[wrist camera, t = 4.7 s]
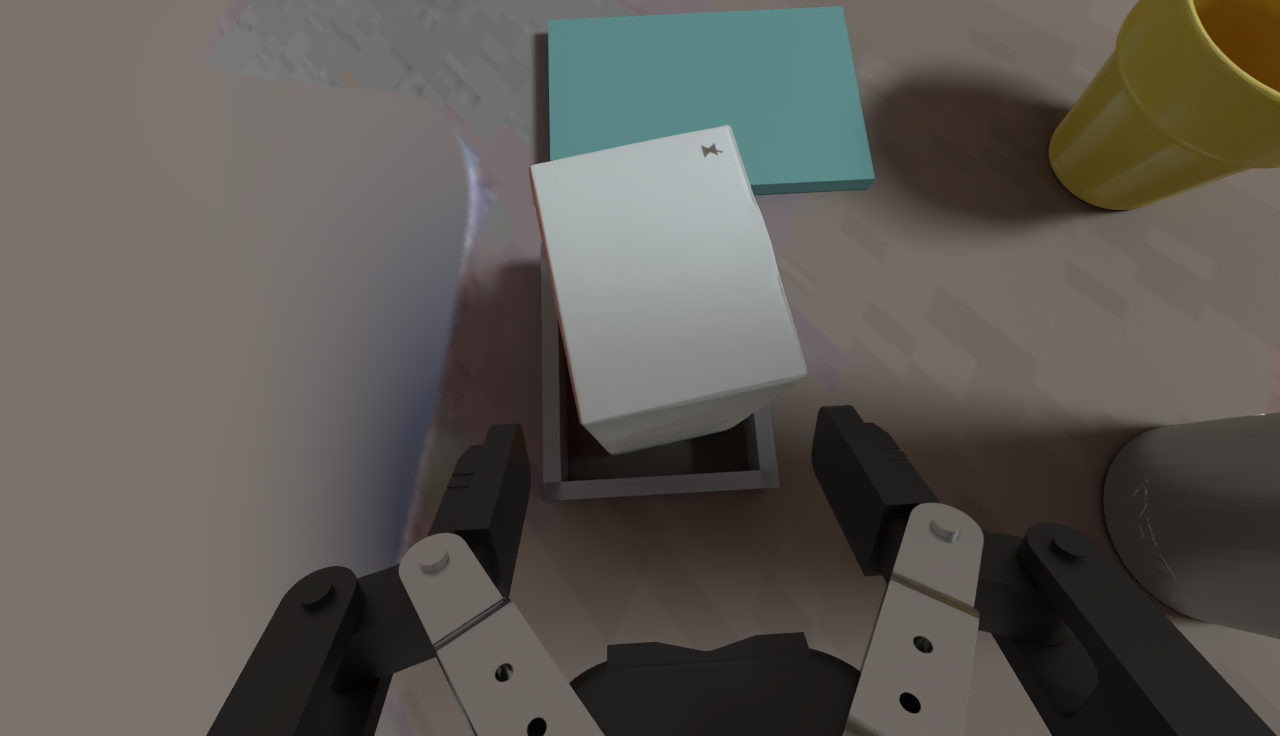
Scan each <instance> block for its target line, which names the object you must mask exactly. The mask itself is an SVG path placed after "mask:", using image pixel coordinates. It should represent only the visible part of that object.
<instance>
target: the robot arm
mask: <svg viewBox="0 0 1280 736" xmlns="http://www.w3.org/2000/svg"><path fill="white" fill-rule="evenodd" d="M811 458H812V466H813V470H814V473H815V475H816V477H817V479H818V481H819V483H820V485H821V487H822V490H823V492H824V494H825V496H826V498H827V500H828V502H829V504H830V506H831V508H832V510H833V512H834V514H835V516H836V518H837V520H838V522H839V524H840V526H841V528H842V530H843V533H844V535H845V537H846V539H847V541H848V543H849V545H850V547H851V549H852V551H853V553H854V555H855V557H856V559H857V561H858V563H859V565H860V567H861V569H862V571H863V573H864V576H878V575H883V577H884V579H885V581H886V583H887V586H886V589H885V592H884V595H883V598H882V601H881V605H880V608H879V611H878V614H877V617H876V621H875V624H874V627H873V630H872V633H871V637H870V640H869V643H868V646H867V649H866V652H865V656H864V659H863V662H862V665H861V668H860V671H859V670H857V669H856V668H854V667H853V666H851V665H849V664H848V663H846V662H844V661H842V660H841V659H838V658H836V657H834V656H832V655H829V654H827V653H824V652H821V651H817V650H813V649H809V647H808V644H807V641H806V638H805V635H804V632H799V633H784V634H769V635H755V636H752V637H749V638H747V639H744V640H741V641H738V642H735V643H732V644H729V645H727V646H724V647H721V648H718V649H715V650H712V651H700V650H695V649H690V648H685V647H679V646H674V645H669V644H664V643H659V642H648V643H633V644H617V645H607V661H606V662H603V663H601V664H598V665H596V666H594V667H592V668H590V669H588V670H586V671H585V672H583V673H582V674H580V675H579V676H577V677H576V678H574V679H573V680H572V681H571V682H570V683H568V681H567V680H566V679H565V677H564V676H563V674H562V673H561V671H560V670H559V668H558V667H557V665H556V664H555V662H554V661H553V660H552V658H551V657H550V655H549V654H548V652H547V651H546V649H545V648H544V646H543V645H542V643H541V642H540V640H539V639H538V638H537V636H536V635H535V633H534V632H533V630H532V629H531V627H530V626H529V624H528V623H527V621H526V620H525V619H524V617H523V616H522V614H521V613H520V611H519V610H518V608H517V607H516V605H515V604H514V603H513V602H512V600H511V599H509V594H510V589H511V584H512V579H513V574H514V569H515V564H516V559H517V553H518V548H519V543H520V538H521V533H522V528H523V523H524V518H525V513H526V508H527V503H528V498H529V493H530V486H531V473H530V465H529V460H528V456H527V451H526V446H525V441H524V436H523V431H522V427H521V425H520V424H507V425H492V426H491V427H490V428H489V431H488V434H487V437H486V440H485V443H484V445H475V446H471V447H470V448H469V449H468V450H467V451H466V452H465V453H464V454H463V455H462V456H461V457H460V458H459V459H458V461H457V464H456V466H455V469H454V471H453V474H452V478H451V479H450V481H449V484H448V486H447V490H446V492H445V494H444V497H443V499H442V502H441V504H440V507H439V509H438V512H437V514H436V517H435V519H434V522H433V524H432V527H431V529H430V532H429V535H428V537H426V538H424V539H422V540H421V541H419V542H417V543H416V544H415V545H413V546H412V547H411V548H410V549H409V550H408V551H407V552H406V554H405V555H404V556H403V558H402V560H401V562H400V564H398V565H396V566H393V567H390V568H388V569H385V570H382V571H379V572H376V573H373V574H370V575H366V576H364V577H360V578H356V576H355V574H354V573H353V572H352V571H351V570H350V569H348V568H345V567H341V566H333V567H327V568H323V569H320V570H317V571H315V572H313V573H311V574H309V575H307V576H306V577H304V578H303V579H301V580H300V581H298V582H297V583H296V584H295V585H294V586H293V587H292V588H291V589H290V590H289V591H288V592H287V593H286V594H285V596H284V597H283V599H282V600H281V602H280V604H279V606H278V608H277V609H276V611H275V613H274V615H273V617H272V619H271V620H270V622H269V624H268V626H267V627H266V629H265V631H264V633H263V635H262V637H261V638H260V640H259V642H258V644H257V645H256V647H255V649H254V651H253V653H252V655H251V656H250V658H249V660H248V662H247V663H246V665H245V667H244V669H243V671H242V672H241V674H240V676H239V678H238V680H237V681H236V683H235V685H234V687H233V689H232V691H231V692H230V694H229V696H228V698H227V699H226V701H225V703H224V705H223V707H222V708H221V710H220V712H219V714H218V716H217V718H216V720H215V721H214V723H213V725H212V727H211V728H210V730H209V732H208V734H207V736H374V735H375V731H376V728H377V725H378V721H379V718H380V715H381V712H382V708H383V705H384V702H385V698H386V695H387V692H388V689H389V685H390V682H391V679H392V676H393V673H395V672H398V671H401V670H403V669H406V668H408V667H411V666H413V665H416V664H419V663H421V662H424V661H426V660H429V659H432V658H434V657H436V659H437V661H438V663H439V665H440V667H441V669H442V671H443V673H444V675H445V677H446V679H447V681H448V683H449V685H450V688H451V690H452V692H453V694H454V696H455V698H456V700H457V702H458V704H459V706H460V708H461V710H462V712H463V714H464V717H465V719H466V721H467V723H468V725H469V727H470V729H471V731H472V733H473V736H964V730H965V722H966V715H967V707H968V700H969V693H970V685H971V678H972V670H973V663H974V655H975V648H976V640H977V633H978V630H981V631H985V632H990V633H991V634H992V635H993V637H994V639H995V640H996V642H997V644H998V645H999V647H1000V649H1001V650H1002V652H1003V654H1004V655H1005V657H1006V659H1007V660H1008V662H1009V664H1010V665H1011V667H1012V669H1013V671H1014V672H1015V674H1016V676H1017V677H1018V679H1019V681H1020V682H1021V684H1022V686H1023V687H1024V689H1025V691H1026V692H1027V694H1028V696H1029V697H1030V699H1031V701H1032V702H1033V704H1034V706H1035V707H1036V709H1037V711H1038V712H1039V714H1040V716H1041V717H1042V719H1043V721H1044V723H1045V724H1046V726H1047V728H1048V729H1049V731H1050V733H1051V734H1052V736H1277V735H1276V734H1275V733H1274V732H1273V731H1272V730H1271V729H1270V728H1269V727H1268V726H1267V725H1266V724H1265V723H1264V721H1263V720H1262V719H1261V718H1260V717H1259V716H1258V715H1257V714H1256V713H1255V712H1254V711H1253V710H1252V709H1251V707H1250V706H1249V705H1248V704H1247V703H1246V702H1245V701H1244V700H1243V699H1242V698H1241V697H1240V696H1239V695H1238V693H1237V692H1236V691H1235V690H1234V689H1233V688H1232V687H1231V686H1230V685H1229V684H1228V683H1227V682H1226V681H1225V679H1224V678H1223V677H1222V676H1221V675H1220V674H1219V673H1218V672H1217V671H1216V670H1215V669H1214V668H1213V667H1212V666H1211V664H1210V663H1209V662H1208V661H1207V660H1206V659H1205V658H1204V657H1203V656H1202V655H1201V654H1200V653H1199V652H1198V650H1197V649H1196V648H1195V647H1194V646H1193V645H1192V644H1191V643H1190V642H1189V641H1188V640H1187V639H1186V638H1185V636H1184V635H1183V634H1182V633H1181V632H1180V631H1179V630H1178V629H1177V628H1176V627H1175V626H1174V625H1173V624H1172V622H1171V621H1170V620H1169V619H1168V618H1167V617H1166V616H1165V615H1164V614H1163V613H1162V612H1161V611H1160V610H1159V608H1158V607H1157V606H1156V605H1155V604H1154V603H1153V602H1152V601H1151V600H1150V599H1149V598H1148V597H1147V596H1146V594H1145V593H1144V592H1143V591H1142V590H1141V589H1140V588H1139V587H1138V586H1137V585H1136V584H1135V583H1134V582H1133V580H1132V579H1131V578H1130V577H1129V576H1128V575H1127V574H1126V573H1125V572H1124V571H1123V570H1122V569H1121V568H1120V567H1119V565H1118V564H1117V563H1116V562H1115V561H1114V560H1113V559H1112V558H1111V557H1110V556H1109V555H1108V554H1107V553H1106V551H1105V550H1104V549H1103V548H1102V547H1101V546H1100V545H1099V544H1097V543H1096V542H1095V541H1093V540H1092V539H1091V538H1089V537H1088V536H1086V535H1084V534H1082V533H1081V532H1079V531H1076V530H1074V529H1072V528H1069V527H1066V526H1063V525H1059V524H1053V523H1039V524H1035V525H1033V526H1031V527H1030V528H1029V529H1028V531H1027V533H1026V535H1025V537H1024V538H1020V537H1015V536H1010V535H1004V534H999V533H993V532H988V531H984V530H981V529H980V527H979V526H978V524H977V523H976V522H975V521H974V520H973V519H972V518H971V517H969V516H968V515H967V514H965V513H964V512H962V511H960V510H958V509H956V508H954V507H951V506H948V505H945V504H941V503H940V502H939V501H938V499H937V498H936V497H935V495H934V494H933V493H932V491H931V490H930V488H929V487H928V486H927V484H926V483H925V482H924V480H923V479H922V478H921V476H920V475H919V474H918V472H917V471H916V470H915V468H914V467H913V466H912V464H911V463H909V462H908V459H907V457H906V456H905V455H904V453H903V452H902V451H900V448H899V447H898V445H897V444H896V443H895V441H894V440H893V439H892V437H891V436H890V435H889V434H888V433H887V432H885V431H884V430H882V429H881V428H880V427H878V426H877V425H875V424H874V423H864V422H863V420H862V419H861V418H860V416H859V415H858V413H857V412H856V410H855V409H854V408H853V407H852V406H851V405H842V406H825V407H821V408H820V410H819V412H818V417H817V423H816V429H815V434H814V440H813V446H812V453H811ZM1103 507H1104V513H1105V519H1106V525H1107V528H1108V531H1109V534H1110V536H1111V539H1112V542H1113V545H1114V547H1115V549H1116V551H1117V552H1118V554H1119V556H1120V557H1121V559H1122V561H1123V563H1124V564H1125V566H1126V568H1127V569H1128V570H1129V571H1130V572H1131V573H1132V575H1133V576H1134V577H1135V578H1136V579H1137V581H1138V582H1139V583H1140V584H1141V585H1142V586H1143V587H1144V588H1145V589H1146V590H1147V591H1149V592H1150V593H1151V594H1152V595H1153V596H1154V597H1156V598H1157V599H1158V600H1159V601H1160V602H1162V603H1164V604H1166V605H1167V606H1169V607H1171V608H1172V609H1174V610H1176V611H1177V612H1179V613H1181V614H1184V615H1186V616H1189V617H1192V618H1195V619H1197V620H1200V621H1203V622H1208V623H1212V624H1216V625H1221V626H1225V627H1230V628H1234V629H1238V630H1243V631H1247V632H1251V633H1256V634H1260V635H1264V636H1269V637H1273V638H1278V639H1280V412H1277V413H1269V414H1259V415H1250V416H1242V417H1234V418H1226V419H1219V420H1211V421H1203V422H1195V423H1187V424H1179V425H1171V426H1163V427H1160V428H1156V429H1153V430H1149V431H1146V432H1144V433H1142V434H1140V435H1139V436H1137V437H1135V438H1133V439H1132V440H1130V441H1129V442H1128V443H1127V444H1126V445H1125V446H1124V447H1123V448H1122V449H1121V450H1120V451H1119V452H1118V453H1117V455H1116V457H1115V459H1114V460H1113V462H1112V464H1111V466H1110V467H1109V470H1108V474H1107V477H1106V481H1105V484H1104V501H1103ZM504 598H506V599H504ZM1071 631H1072V632H1071ZM1073 634H1074V635H1075V636H1074V635H1073ZM1076 638H1077V639H1078V640H1077V639H1076ZM1079 642H1080V643H1079ZM1082 646H1083V647H1082ZM1085 650H1086V651H1085ZM1087 653H1088V654H1089V655H1088V654H1087ZM1090 657H1091V658H1090Z"/></svg>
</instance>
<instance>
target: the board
mask: <svg viewBox="0 0 1280 736" xmlns="http://www.w3.org/2000/svg"><path fill="white" fill-rule="evenodd" d="M548 51H549V115H550V161H554V160H558V159H562V158H567V157H572V156H576V155H581V154H586V153H591V152H596V151H601V150H605V149H610V148H615V147H619V146H624V145H629V144H634V143H638V142H643V141H648V140H653V139H658V138H663V137H668V136H673V135H678V134H683V133H688V132H694V131H699V130H705V129H710V128H716V127H720V126H723V125H729V126H730V127H731V129H732V131H733V135H734V138H735V141H736V144H737V147H738V150H739V153H740V156H741V159H742V162H743V165H744V168H745V171H746V174H747V177H748V180H749V183H750V186H751V189H752V192H753V195H762V194H781V193H801V192H820V191H839V190H858V189H868V187H869V186H870V185H871V183H872V182H873V181H874V179H875V176H874V170H873V165H872V160H871V155H870V149H869V144H868V139H867V134H866V128H865V123H864V118H863V113H862V107H861V102H860V97H859V92H858V87H857V81H856V76H855V71H854V66H853V60H852V55H851V50H850V45H849V39H848V34H847V29H846V24H845V18H844V13H843V8H842V6H835V7H814V8H793V9H772V10H751V11H730V12H710V13H689V14H668V15H647V16H626V17H605V18H584V19H564V20H548Z"/></svg>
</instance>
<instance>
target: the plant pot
mask: <svg viewBox="0 0 1280 736" xmlns="http://www.w3.org/2000/svg"><path fill="white" fill-rule="evenodd" d="M1049 160H1050V164H1051V167H1052V169H1053V171H1054V173H1055V175H1056V176H1057V178H1058V179H1059V181H1060V182H1061V183H1062V184H1063V185H1064V186H1065V187H1066V188H1067V189H1068V190H1069V191H1070V192H1071V193H1072V194H1074V195H1075V196H1077V197H1078V198H1080V199H1081V200H1083V201H1085V202H1087V203H1089V204H1091V205H1094V206H1097V207H1101V208H1106V209H1112V210H1130V209H1135V208H1139V207H1143V206H1146V205H1149V204H1152V203H1155V202H1157V201H1160V200H1163V199H1166V198H1169V197H1172V196H1174V195H1177V194H1180V193H1183V192H1186V191H1189V190H1191V189H1194V188H1197V187H1200V186H1203V185H1206V184H1208V183H1211V182H1214V181H1217V180H1220V179H1223V178H1225V177H1228V176H1231V175H1234V174H1237V173H1240V172H1243V171H1245V170H1248V169H1251V168H1276V167H1280V0H1139V2H1138V3H1137V4H1136V5H1135V6H1134V7H1133V9H1132V10H1131V11H1130V12H1129V14H1128V15H1127V17H1126V18H1125V20H1124V22H1123V24H1122V26H1121V28H1120V31H1119V34H1118V37H1117V41H1116V49H1115V50H1114V52H1113V53H1112V54H1111V56H1110V57H1109V58H1108V60H1107V61H1106V63H1105V64H1104V65H1103V67H1102V68H1101V69H1100V71H1099V72H1098V73H1097V75H1096V76H1095V77H1094V79H1093V80H1092V82H1091V83H1090V84H1089V86H1088V87H1087V88H1086V90H1085V91H1084V92H1083V94H1082V95H1081V96H1080V98H1079V99H1078V100H1077V102H1076V103H1075V104H1074V106H1073V107H1072V108H1071V110H1070V111H1069V112H1068V114H1067V115H1066V116H1065V118H1064V119H1063V120H1062V122H1061V123H1060V124H1059V126H1058V127H1057V128H1056V130H1055V132H1054V133H1053V135H1052V138H1051V140H1050V144H1049Z"/></svg>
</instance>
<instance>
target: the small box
mask: <svg viewBox="0 0 1280 736" xmlns="http://www.w3.org/2000/svg"><path fill="white" fill-rule="evenodd" d="M529 175H530V182H531V187H532V192H533V197H534V202H535V207H536V212H537V217H538V222H539V227H540V233H541V238H542V243H543V248H544V253H545V257H546V262H547V267H548V272H549V277H550V282H551V287H552V292H553V296H554V302H555V307H556V312H557V316H558V321H559V326H560V330H561V335H562V340H563V344H564V349H565V354H566V359H567V364H568V370H569V375H570V380H571V385H572V389H573V394H574V398H575V403H576V407H577V412H578V417H579V421H580V424H582V425H583V426H584V427H585V428H586V429H587V430H588V431H589V432H590V433H591V434H592V436H593V437H594V438H595V439H596V440H597V441H598V442H599V443H600V444H601V445H602V446H603V447H604V448H605V449H606V450H607V451H608V452H609V453H610V455H611V456H618V455H622V454H626V453H631V452H635V451H639V450H644V449H648V448H652V447H657V446H661V445H665V444H670V443H674V442H678V441H683V440H687V439H692V438H696V437H700V436H705V435H709V434H714V433H718V432H722V431H726V430H729V429H731V428H732V427H734V426H735V425H737V424H738V423H740V422H741V421H743V420H744V419H745V418H747V417H748V416H750V415H751V414H752V413H754V412H755V411H756V410H758V409H759V408H761V407H762V406H764V405H765V404H767V403H768V402H770V401H771V400H772V399H774V398H775V397H777V396H778V395H780V394H781V393H782V392H784V391H785V390H787V389H788V388H790V387H792V386H793V385H794V384H796V383H798V382H800V381H801V380H803V379H805V378H806V375H807V366H806V363H805V360H804V356H803V352H802V349H801V345H800V342H799V339H798V335H797V332H796V329H795V325H794V322H793V318H792V315H791V312H790V308H789V305H788V302H787V299H786V295H785V292H784V289H783V285H782V282H781V279H780V276H779V272H778V268H777V264H776V260H775V256H774V252H773V248H772V244H771V241H770V238H769V235H768V232H767V229H766V226H765V223H764V220H763V217H762V214H761V212H760V209H759V207H758V205H757V203H756V200H755V198H754V195H753V192H752V189H751V186H750V183H749V180H748V177H747V174H746V171H745V168H744V165H743V162H742V159H741V156H740V153H739V150H738V147H737V144H736V141H735V138H734V135H733V131H732V129H731V127H730V126H729V125H723V126H720V127H716V128H710V129H705V130H699V131H694V132H688V133H683V134H678V135H673V136H668V137H663V138H658V139H653V140H648V141H643V142H638V143H634V144H629V145H624V146H619V147H615V148H610V149H605V150H601V151H596V152H591V153H586V154H581V155H576V156H572V157H567V158H562V159H558V160H554V161H550V162H544V163H539V164H534V165H531V166H530V167H529Z"/></svg>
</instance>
